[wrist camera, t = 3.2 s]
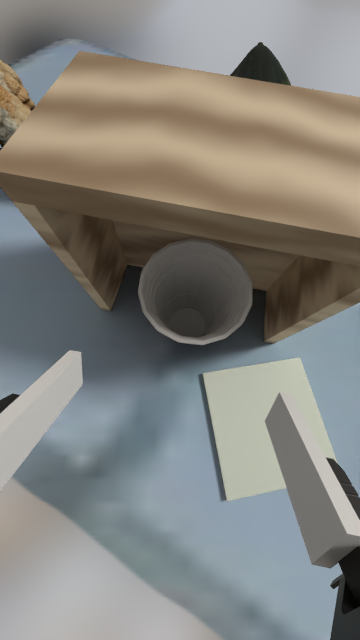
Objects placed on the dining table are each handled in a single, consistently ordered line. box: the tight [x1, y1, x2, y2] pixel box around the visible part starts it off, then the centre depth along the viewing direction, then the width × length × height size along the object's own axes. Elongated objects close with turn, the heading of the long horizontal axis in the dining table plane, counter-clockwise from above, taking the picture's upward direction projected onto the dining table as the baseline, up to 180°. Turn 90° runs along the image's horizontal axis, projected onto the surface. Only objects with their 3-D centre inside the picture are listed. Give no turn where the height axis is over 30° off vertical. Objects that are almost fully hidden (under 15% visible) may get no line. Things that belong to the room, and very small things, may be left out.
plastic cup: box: [138, 239, 252, 345], centre depth 24 cm, size 11×11×12 cm
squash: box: [230, 42, 291, 86], centre depth 38 cm, size 14×15×15 cm
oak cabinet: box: [0, 51, 360, 344], centre depth 23 cm, size 14×26×20 cm, turn 79°
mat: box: [202, 358, 338, 501], centre depth 26 cm, size 14×14×1 cm
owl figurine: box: [0, 60, 35, 150], centre depth 31 cm, size 18×12×17 cm, turn 55°
